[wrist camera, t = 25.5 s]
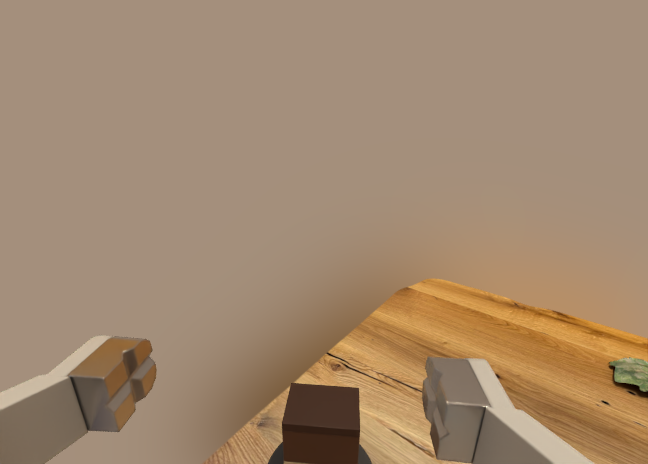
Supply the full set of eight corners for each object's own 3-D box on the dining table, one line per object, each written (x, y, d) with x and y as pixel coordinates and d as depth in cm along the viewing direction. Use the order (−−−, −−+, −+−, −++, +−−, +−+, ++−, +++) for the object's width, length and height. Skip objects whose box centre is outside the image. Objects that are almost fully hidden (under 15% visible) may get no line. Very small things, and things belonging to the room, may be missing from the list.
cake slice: (355, 507, 26) (359, 430, 23) (285, 500, 27) (281, 423, 24) (354, 459, 30) (358, 387, 27) (293, 453, 31) (291, 382, 28)
